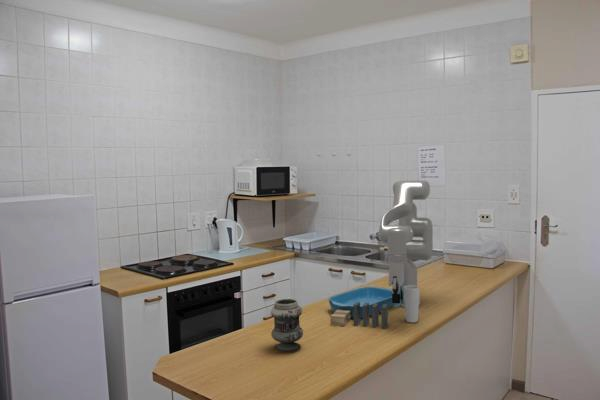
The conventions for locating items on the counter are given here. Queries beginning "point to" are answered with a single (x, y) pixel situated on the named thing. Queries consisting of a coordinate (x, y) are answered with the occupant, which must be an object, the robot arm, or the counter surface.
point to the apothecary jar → (286, 325)
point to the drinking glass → (411, 302)
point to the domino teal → (400, 299)
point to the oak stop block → (340, 317)
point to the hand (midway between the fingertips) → (397, 300)
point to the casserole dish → (361, 299)
